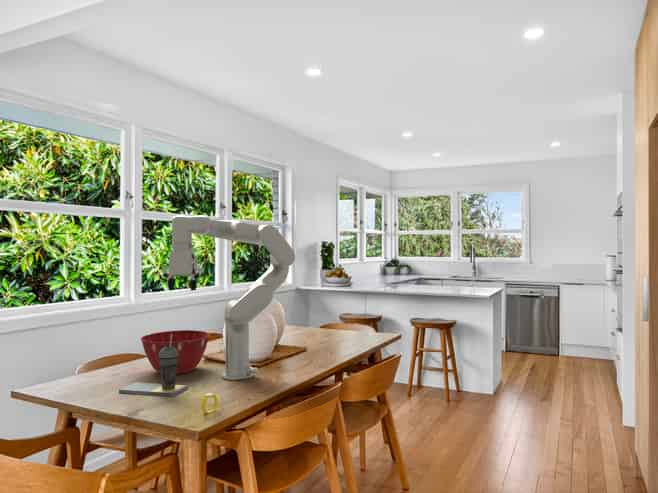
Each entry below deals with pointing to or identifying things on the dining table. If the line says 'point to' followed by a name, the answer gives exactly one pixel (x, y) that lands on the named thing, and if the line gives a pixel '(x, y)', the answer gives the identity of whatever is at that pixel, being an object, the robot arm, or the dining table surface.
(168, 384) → the beverage cup
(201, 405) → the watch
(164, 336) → the mixing bowl
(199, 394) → the dining table surface
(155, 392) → the grey yellow flat slab
